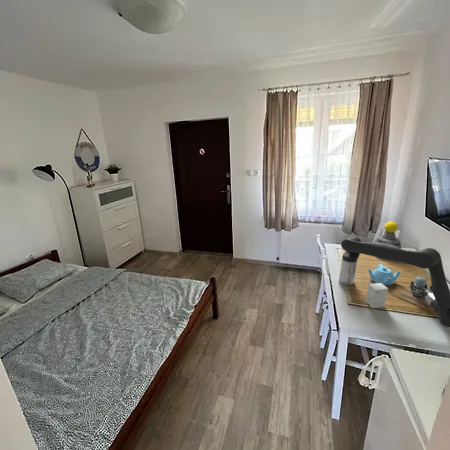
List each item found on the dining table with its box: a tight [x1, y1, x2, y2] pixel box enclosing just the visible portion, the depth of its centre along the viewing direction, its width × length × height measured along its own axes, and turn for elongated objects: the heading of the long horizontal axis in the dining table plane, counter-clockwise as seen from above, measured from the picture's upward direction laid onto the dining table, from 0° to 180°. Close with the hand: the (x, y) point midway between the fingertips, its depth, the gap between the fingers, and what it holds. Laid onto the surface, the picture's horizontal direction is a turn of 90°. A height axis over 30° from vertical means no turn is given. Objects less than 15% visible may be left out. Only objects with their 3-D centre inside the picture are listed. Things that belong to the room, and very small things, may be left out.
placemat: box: [396, 284, 429, 309], centre depth 155 cm, size 20×14×1 cm
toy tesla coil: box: [374, 221, 402, 261], centre depth 204 cm, size 19×19×30 cm
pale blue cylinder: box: [412, 275, 427, 297], centre depth 153 cm, size 6×6×11 cm
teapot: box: [367, 263, 401, 287], centre depth 171 cm, size 15×15×11 cm
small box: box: [365, 282, 389, 309], centre depth 147 cm, size 8×6×13 cm
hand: (417, 282), depth 155 cm, fingers closed on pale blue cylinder, 5 cm apart
